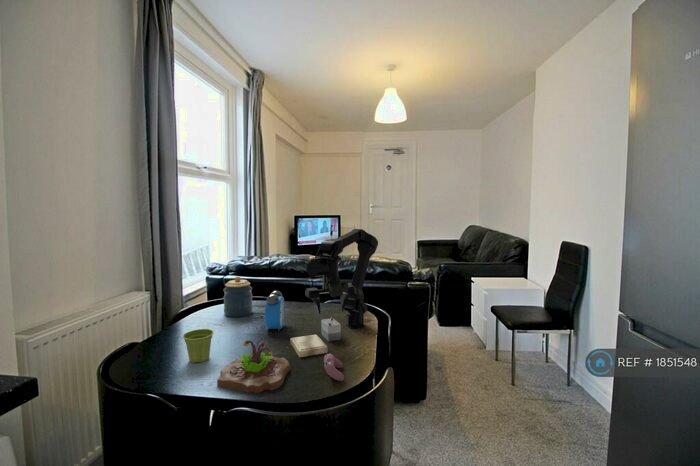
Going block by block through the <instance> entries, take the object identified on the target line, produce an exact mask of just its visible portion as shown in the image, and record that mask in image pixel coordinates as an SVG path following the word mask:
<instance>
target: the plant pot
mask: <svg viewBox="0 0 700 466" xmlns="http://www.w3.org/2000/svg"><path fill="white" fill-rule="evenodd" d="M214 333H215V331H214V330H212V329H211V328H210V329H209V328H200V329H193V330H189V331H187V332H185V333H184V334H182V339H183V340H184V342H185V345H186V350H187V356H188V360H189V362H190V363H193V364H196V363H203V362H206V361H208V360H209V358H210V353H211V345H212V338H213V335H214Z"/></svg>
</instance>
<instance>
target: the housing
mask: <svg viewBox="0 0 700 466" xmlns="http://www.w3.org/2000/svg"><path fill="white" fill-rule="evenodd" d="M320 321H321V330H320V331H321V335H322V337H323V338H324V339H325V340H326V341H327V342H333V341H339V340H341V335H342V334H341V331H342V329H341V323H340V322H338V321H337V320H336V319H335V318H334V317H332V316H331V317H330V318H325V319H321V320H320Z"/></svg>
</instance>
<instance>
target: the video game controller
mask: <svg viewBox="0 0 700 466" xmlns="http://www.w3.org/2000/svg"><path fill="white" fill-rule="evenodd" d="M323 363H324V365H323V367H324V370H325V372H326V373H327V375H328V376H330V378H332V379H334V380H335V381H338V382H343V381H344V380H345V375H344V374H343V372H341V371H340V370H338V369H341V368H343V362H342V361H341V360H340V359H338V358H337V357H335V355H333V354H332V353H331V352H330V353H326V354H325V355H324V356H323Z"/></svg>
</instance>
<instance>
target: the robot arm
mask: <svg viewBox="0 0 700 466" xmlns="http://www.w3.org/2000/svg"><path fill="white" fill-rule="evenodd" d="M354 243H355V244H357V245H356V248H357V252H358V258H357V260H356V265H355V269H354V273H353V276H352V280H351V284H350V283H348V281H342V282H341V281H340V276H339V261H341V260H342V257H341V256H339V255H341V254H342V252H344V249H345V248H346V247H348V246H350V245H352V244H354ZM378 246H379V240H378V239H377V238H376V236H374V235H373V234H370V233H368V232H367V231H366V230H365V229H362V228H354V229H352V230H351V231H348V232H347V233H345V234H342V235H341V236H338V237H337V238H329V239H324V240H322V241H321V243H320V246H319V248H318V250H317V251H316V254H315V256H314V257H312V258H310V262H308V264H307V265H306V273H307V275H308V276H309V277H310V278H317V277H321V278H323V279H322V285H321V286H322V287H321V288H322V289H321V288H320V289H318V288H316V287H309V288H308V287H307V288H306V289H305V296H306V298H308V299H310V300H311V301H312V302H313V304H314V305H315V309H316V311H317V313H318V315H319V316H321V297H320V296H321V295H328V294H329V295H330V297H332V298H336V297H340V299H339V300H340V301H339V302H340V311H341V313H343V312H344V311H345V312H346V313H347V314H346V318H345V321H346V322H345V325H346V326H347V327H349V328H350V329H357V328H365V327H366V325H365V324H364V318H365V317H364V316H365V314H366V313H367V312H368V305H367V304H366V303H365V301H364V300H365V296H364V292H363V287H364V284H365V279H366V275H367V272H368V271H367V270H368V269H369V268H368V267H369V264H370V259H371V257H372V256H373V255H374V254H375V253H376V251H377V248H378Z"/></svg>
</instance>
